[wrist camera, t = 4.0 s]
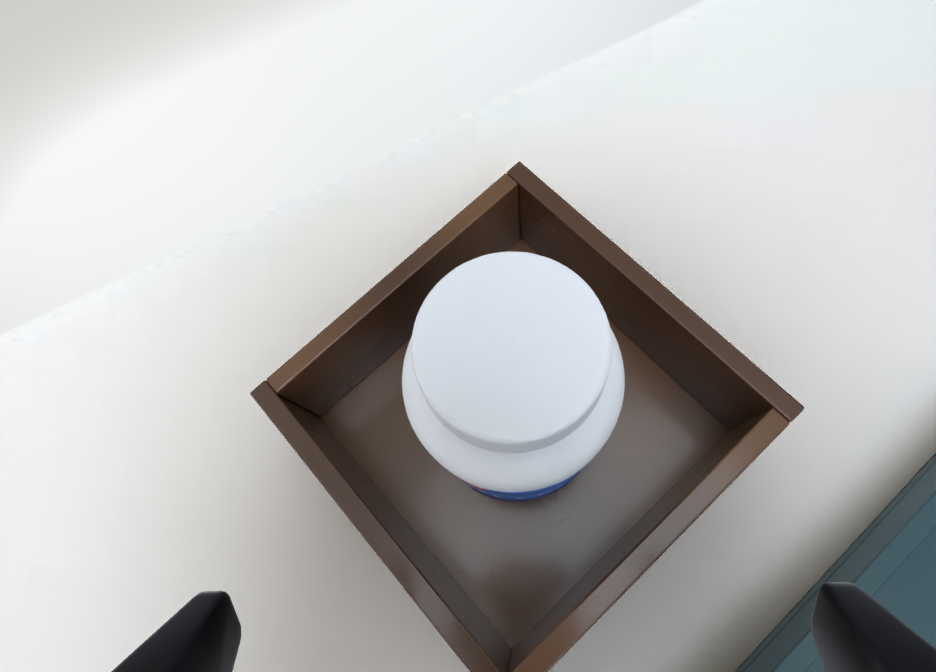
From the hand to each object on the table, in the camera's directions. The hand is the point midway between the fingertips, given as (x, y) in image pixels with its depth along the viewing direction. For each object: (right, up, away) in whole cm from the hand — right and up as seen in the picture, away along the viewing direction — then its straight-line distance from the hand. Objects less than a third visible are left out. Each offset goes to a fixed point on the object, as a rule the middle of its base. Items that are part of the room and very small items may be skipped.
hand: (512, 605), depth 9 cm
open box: (+1, +1, +12) cm, 12 cm away
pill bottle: (+1, +1, +12) cm, 12 cm away
